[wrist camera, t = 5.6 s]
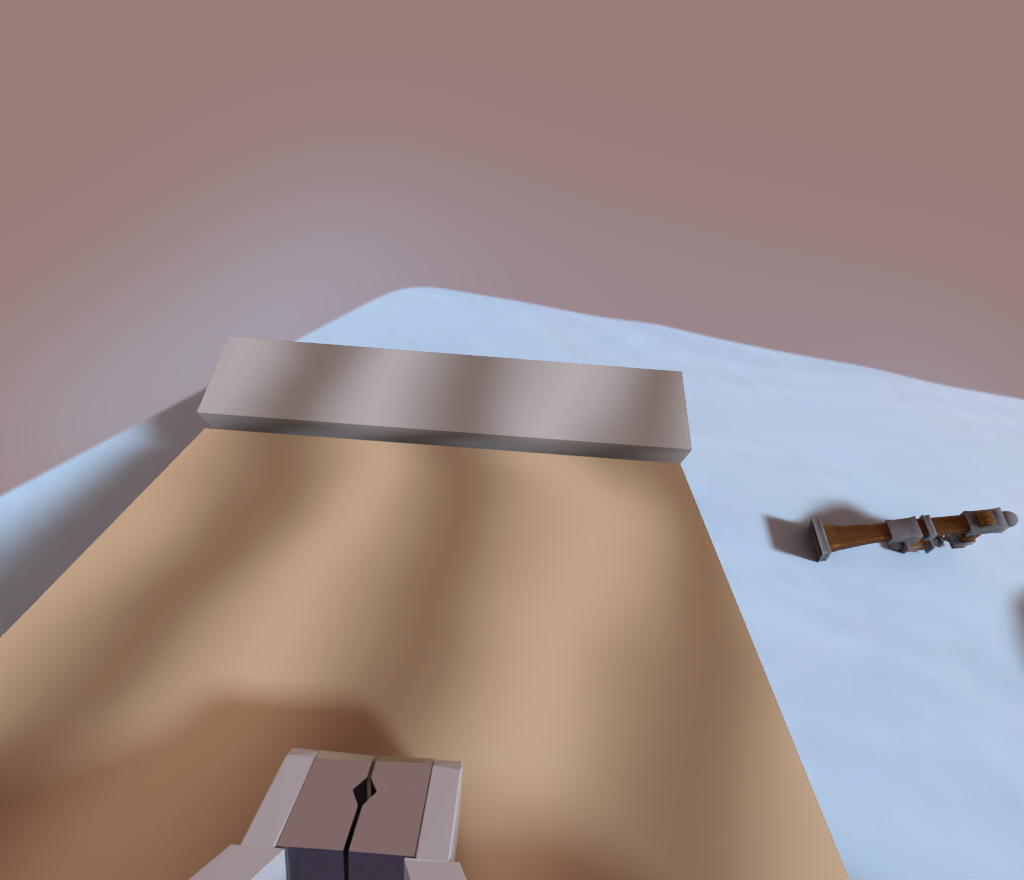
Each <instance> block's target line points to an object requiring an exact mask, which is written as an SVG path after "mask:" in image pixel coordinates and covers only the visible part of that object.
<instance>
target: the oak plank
mask: <svg viewBox="0 0 1024 880" xmlns="http://www.w3.org/2000/svg"><path fill="white" fill-rule="evenodd" d="M292 748H301V749H312V750H323V751H333V752H342V753H351V754H360V755H369V756H376V757H378V758H379V757H380V755H383V756H399V757H414V758H430V759H436V760H448V761H461V762H463V774H462V789H461V804H460V817H459V830H458V842H457V851H456V860H455V862H459V863H460V865H461V868H462V870H463V873H464V875H465V877H466V880H849V878H848V875H847V873H846V871H845V868H844V866H843V863H842V861H841V858H840V856H839V853H838V851H837V848H836V846H835V843H834V841H833V839H832V836H831V834H830V831H829V829H828V826H827V824H826V821H825V819H824V816H823V814H822V812H821V809H820V807H819V804H818V802H817V799H816V797H815V794H814V792H813V789H812V787H811V784H810V782H809V780H808V777H807V775H806V772H805V770H804V767H803V765H802V762H801V760H800V757H799V755H798V753H797V750H796V748H795V745H794V743H793V740H792V738H791V735H790V733H789V730H788V728H787V725H786V723H785V721H784V718H783V716H782V713H781V711H780V708H779V706H778V703H777V701H776V698H775V696H774V694H773V691H772V689H771V686H770V684H769V681H768V679H767V676H766V674H765V671H764V669H763V666H762V664H761V662H760V659H759V657H758V654H757V652H756V649H755V647H754V644H753V642H752V639H751V637H750V635H749V632H748V630H747V627H746V625H745V622H744V620H743V617H742V615H741V612H740V610H739V607H738V605H737V603H736V600H735V598H734V595H733V593H732V590H731V588H730V585H729V583H728V580H727V578H726V576H725V573H724V571H723V568H722V566H721V563H720V561H719V558H718V556H717V553H716V551H715V548H714V546H713V544H712V541H711V539H710V536H709V534H708V531H707V529H706V526H705V524H704V521H703V519H702V517H701V514H700V512H699V509H698V507H697V504H696V502H695V499H694V497H693V494H692V492H691V489H690V487H689V485H688V482H687V480H686V477H685V475H684V472H683V470H682V467H681V465H680V464H677V463H664V462H651V461H637V460H624V459H610V458H597V457H584V456H570V455H557V454H543V453H530V452H517V451H503V450H490V449H476V448H463V447H450V446H436V445H423V444H409V443H396V442H383V441H369V440H356V439H342V438H329V437H316V436H302V435H289V434H275V433H262V432H249V431H235V430H222V429H208V428H205V429H204V430H203V431H202V432H201V433H200V434H199V435H198V436H197V437H196V438H195V439H194V440H193V441H192V442H191V443H190V444H189V445H188V446H187V447H186V448H185V449H184V450H183V451H182V452H181V453H180V454H179V455H178V456H177V457H176V458H175V459H174V460H173V461H172V462H171V463H170V464H169V466H168V467H167V468H166V469H165V470H164V471H163V472H162V473H161V474H160V475H159V476H158V477H157V478H156V479H155V480H154V481H153V482H152V483H151V484H150V485H149V486H148V487H147V488H146V489H145V490H144V491H143V492H142V493H141V494H140V495H139V496H138V497H137V498H136V499H135V500H134V501H133V502H132V503H131V504H130V505H129V506H128V507H127V509H126V510H125V511H124V512H123V513H122V514H121V515H120V516H119V517H118V518H117V519H116V520H115V521H114V522H113V523H112V524H111V525H110V526H109V527H108V528H107V529H106V530H105V531H104V532H103V533H102V534H101V535H100V536H99V537H98V538H97V539H96V540H95V541H94V542H93V543H92V544H91V545H90V546H89V547H88V548H87V549H86V550H85V551H84V553H83V554H82V555H81V556H80V557H79V558H78V559H77V560H76V561H75V562H74V563H73V564H72V565H71V566H70V567H69V568H68V569H67V570H66V571H65V572H64V573H63V574H62V575H61V576H60V577H59V578H58V579H57V580H56V581H55V582H54V583H53V584H52V585H51V586H50V587H49V588H48V589H47V590H46V591H45V592H44V593H43V594H42V596H41V597H40V598H39V599H38V600H37V601H36V602H35V603H34V604H33V605H32V606H31V607H30V608H29V609H28V610H27V611H26V612H25V613H24V614H23V615H22V616H21V617H20V618H19V619H18V620H17V621H16V622H15V623H14V624H13V625H12V626H11V627H10V628H9V629H8V630H7V631H6V632H5V633H4V634H3V635H2V636H1V637H0V880H188V879H190V878H191V877H192V876H193V875H194V874H196V873H197V872H198V871H199V870H200V869H202V868H203V867H204V866H205V865H206V864H208V863H209V862H210V861H211V860H212V859H214V858H215V857H216V856H217V855H218V854H220V853H221V852H222V851H223V850H224V849H226V848H227V847H228V846H229V845H230V844H236V845H240V843H241V841H242V840H243V838H244V836H245V834H246V832H247V830H248V828H249V826H250V824H251V822H252V820H253V818H254V816H255V814H256V812H257V810H258V808H259V806H260V804H261V803H262V801H263V799H264V797H265V795H266V793H267V791H268V789H269V787H270V785H271V783H272V781H273V779H274V777H275V775H276V773H277V771H278V769H279V767H280V766H281V764H282V762H283V760H284V758H285V756H286V755H287V754H288V753H289V752H290V750H291V749H292Z"/></svg>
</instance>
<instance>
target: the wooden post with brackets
mask: <svg viewBox="0 0 1024 880" xmlns="http://www.w3.org/2000/svg"><path fill="white" fill-rule="evenodd" d="M1017 522H1018V517H1017V516H1016V515H1015V514H1014V513H1012V512H1009V511H1003V512H1002V511H1001V509H1000V507H998V508H994V509H988V510H979V511H964V512H963V513H961V514H960V515H957V516H946V517H936V518H930V516H929V515H926V516H923V515H922V516H921V517H920V518H919V519H916V517H915V516H913V517H910V518H905V519H897V520H886V521H885V522H884V523H881V524H872V525H844V526H832V525H822V521H821V518H820V519H813V518H812V519H811V521H810V523H809V526H808V529H809V530H810V533H811V536H812V540H813V543H814V546H815V549H816V552H817V555H818V559H819V561H823V560H824V561H826V560H827V558H828V557H829V555H830V554H831V552H835V551H838V550H842V549H847V548H852V547H856V546H861V545H866V544H871V543H878V542H886V541H887V542H888V545H889V547H890V548H892V549H895V550H899V549H901V550H902V552H903V554H905V553H906V552H910V551H917V550H925V553H929V552H930V551H931V550H933V549H934V548H935V547H934V545H936V544H938V546H941V545H942V544H943V543H944V541H945V540H946V541H948V542H949V543H950V545H951V548H952V549H954V548H965V546H968V545H972V544H973V543H974V542H976V541H975V539H976V538H977V537H978V536H980V535H981V534H987V533H1002V532H1003V531H1005V530H1006V529H1008V528H1009V527H1012V526H1015V525H1016V524H1017ZM943 535H945V537H943ZM948 535H949V536H948ZM947 536H948V537H947ZM819 561H818V562H819Z"/></svg>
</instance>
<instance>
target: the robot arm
mask: <svg viewBox="0 0 1024 880" xmlns="http://www.w3.org/2000/svg"><path fill="white" fill-rule="evenodd" d="M462 774H463V762H461V761H448V760H436V759H430V758H414V757H399V756H383V755H380V757H379V758H378V757H376V756H369V755H360V754H351V753H342V752H333V751H323V750H312V749H301V748H292V749H291V750H290V752H289V753H288V754H287V755H286V756H285V758H284V760H283V762H282V764H281V766H280V767H279V769H278V771H277V773H276V775H275V777H274V779H273V781H272V783H271V785H270V787H269V789H268V791H267V793H266V795H265V797H264V799H263V801H262V803H261V804H260V806H259V808H258V810H257V812H256V814H255V816H254V818H253V820H252V822H251V824H250V826H249V828H248V830H247V832H246V834H245V836H244V838H243V840H242V841H241V843H240V845H236V844H230V845H229V846H228V847H227V848H226V849H224V850H223V851H222V852H221V853H220V854H218V855H217V856H216V857H215V858H214V859H212V860H211V861H210V862H209V863H208V864H206V865H205V866H204V867H203V868H202V869H200V870H199V871H198V872H197V873H196V874H194V875H193V876H192V877H191V878H190V879H188V880H466V877H465V875H464V873H463V870H462V868H461V865H460V863H459V862H455V860H456V851H457V842H458V830H459V817H460V804H461V789H462Z"/></svg>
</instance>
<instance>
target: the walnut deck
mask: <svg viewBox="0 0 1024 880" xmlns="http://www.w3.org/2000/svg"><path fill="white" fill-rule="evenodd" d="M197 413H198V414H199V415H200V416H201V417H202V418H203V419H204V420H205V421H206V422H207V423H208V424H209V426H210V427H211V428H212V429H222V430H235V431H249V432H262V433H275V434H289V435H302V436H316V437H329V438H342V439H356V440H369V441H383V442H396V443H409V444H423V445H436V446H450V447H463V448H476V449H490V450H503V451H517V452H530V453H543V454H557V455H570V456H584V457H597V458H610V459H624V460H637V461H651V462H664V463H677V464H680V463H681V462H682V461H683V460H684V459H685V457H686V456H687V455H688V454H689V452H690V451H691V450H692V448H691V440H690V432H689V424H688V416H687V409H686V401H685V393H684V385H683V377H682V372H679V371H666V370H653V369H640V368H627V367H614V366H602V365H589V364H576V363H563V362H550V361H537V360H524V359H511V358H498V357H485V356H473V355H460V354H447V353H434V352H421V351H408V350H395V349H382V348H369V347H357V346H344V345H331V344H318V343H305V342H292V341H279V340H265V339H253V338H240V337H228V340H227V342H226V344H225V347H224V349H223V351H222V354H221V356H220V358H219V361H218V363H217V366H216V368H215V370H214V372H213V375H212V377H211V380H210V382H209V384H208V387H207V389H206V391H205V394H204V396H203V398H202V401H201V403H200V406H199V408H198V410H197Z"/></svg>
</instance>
